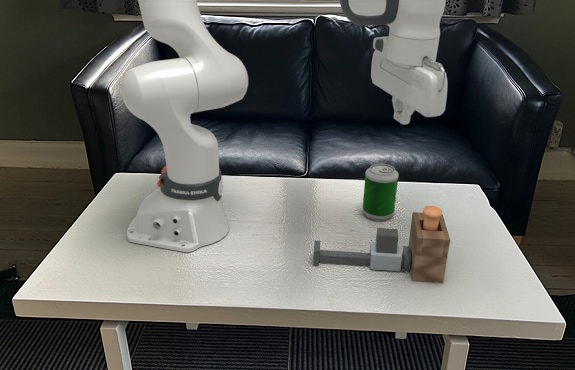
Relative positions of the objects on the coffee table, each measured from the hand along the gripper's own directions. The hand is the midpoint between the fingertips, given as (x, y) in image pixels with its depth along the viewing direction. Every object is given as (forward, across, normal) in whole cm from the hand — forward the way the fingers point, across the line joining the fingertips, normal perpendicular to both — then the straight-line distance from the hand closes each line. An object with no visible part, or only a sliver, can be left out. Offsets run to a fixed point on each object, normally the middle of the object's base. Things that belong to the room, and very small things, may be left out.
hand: (401, 121), depth 108 cm
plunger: (+22, -10, -4) cm, 24 cm away
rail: (+29, -4, +8) cm, 30 cm away
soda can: (+30, +13, -6) cm, 33 cm away
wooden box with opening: (+29, -10, -4) cm, 31 cm away
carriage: (+29, -6, +3) cm, 30 cm away
